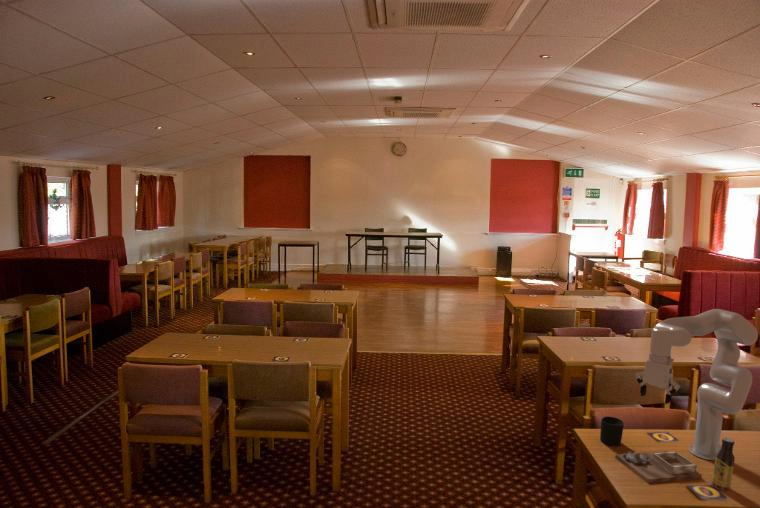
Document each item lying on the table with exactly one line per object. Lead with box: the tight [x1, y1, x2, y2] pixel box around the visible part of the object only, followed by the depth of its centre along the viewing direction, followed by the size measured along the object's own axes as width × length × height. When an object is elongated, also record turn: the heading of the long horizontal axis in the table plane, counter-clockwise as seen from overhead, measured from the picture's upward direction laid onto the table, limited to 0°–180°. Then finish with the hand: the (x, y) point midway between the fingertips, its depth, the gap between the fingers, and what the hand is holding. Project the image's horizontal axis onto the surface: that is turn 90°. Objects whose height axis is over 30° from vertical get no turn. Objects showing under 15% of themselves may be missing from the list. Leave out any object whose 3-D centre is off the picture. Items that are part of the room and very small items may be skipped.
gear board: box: [614, 450, 703, 484], centre depth 229 cm, size 25×20×5 cm
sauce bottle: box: [711, 436, 736, 491], centre depth 215 cm, size 6×6×20 cm
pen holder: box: [599, 416, 625, 447], centre depth 251 cm, size 9×9×10 cm
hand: (655, 399), depth 225 cm, fingers open, 9 cm apart
